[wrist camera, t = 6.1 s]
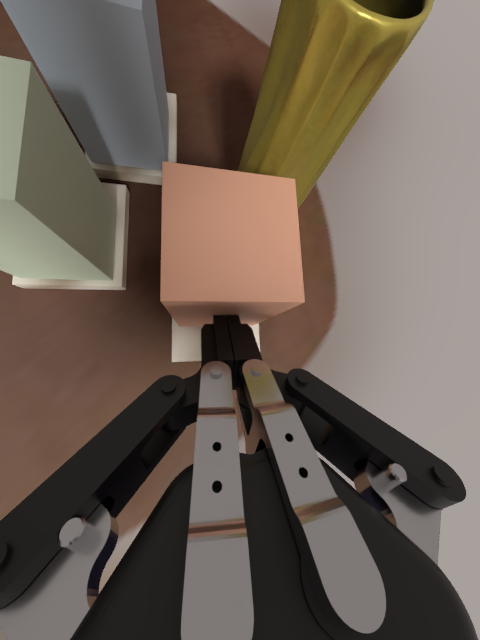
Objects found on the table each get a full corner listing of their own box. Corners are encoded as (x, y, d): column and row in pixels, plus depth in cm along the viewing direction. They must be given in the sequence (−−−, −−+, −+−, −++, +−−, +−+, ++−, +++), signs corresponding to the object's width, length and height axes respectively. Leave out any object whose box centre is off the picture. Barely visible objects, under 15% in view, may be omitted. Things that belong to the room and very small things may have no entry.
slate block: (91, 161, 17) (-18, -32, 9) (95, 99, 18) (-1, -136, 9) (168, 171, 18) (142, 10, 10) (168, 112, 19) (145, -86, 11)
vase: (253, 178, 21) (354, -135, 8) (297, 220, 22) (471, -7, 8) (212, 215, 20) (246, -89, 6) (260, 260, 20) (394, 66, 6)
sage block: (20, 278, 15) (-223, 179, 6) (28, 201, 16) (-177, 20, 7) (112, 280, 16) (14, 200, 8) (116, 209, 17) (30, 61, 8)
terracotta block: (179, 326, 17) (160, 300, 8) (179, 255, 18) (162, 161, 9) (252, 325, 18) (304, 302, 9) (249, 258, 19) (294, 178, 10)
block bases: (14, 368, 15) (2, 369, 14) (45, 81, 19) (36, 66, 18) (257, 357, 19) (260, 358, 18) (246, 118, 22) (248, 108, 21)
